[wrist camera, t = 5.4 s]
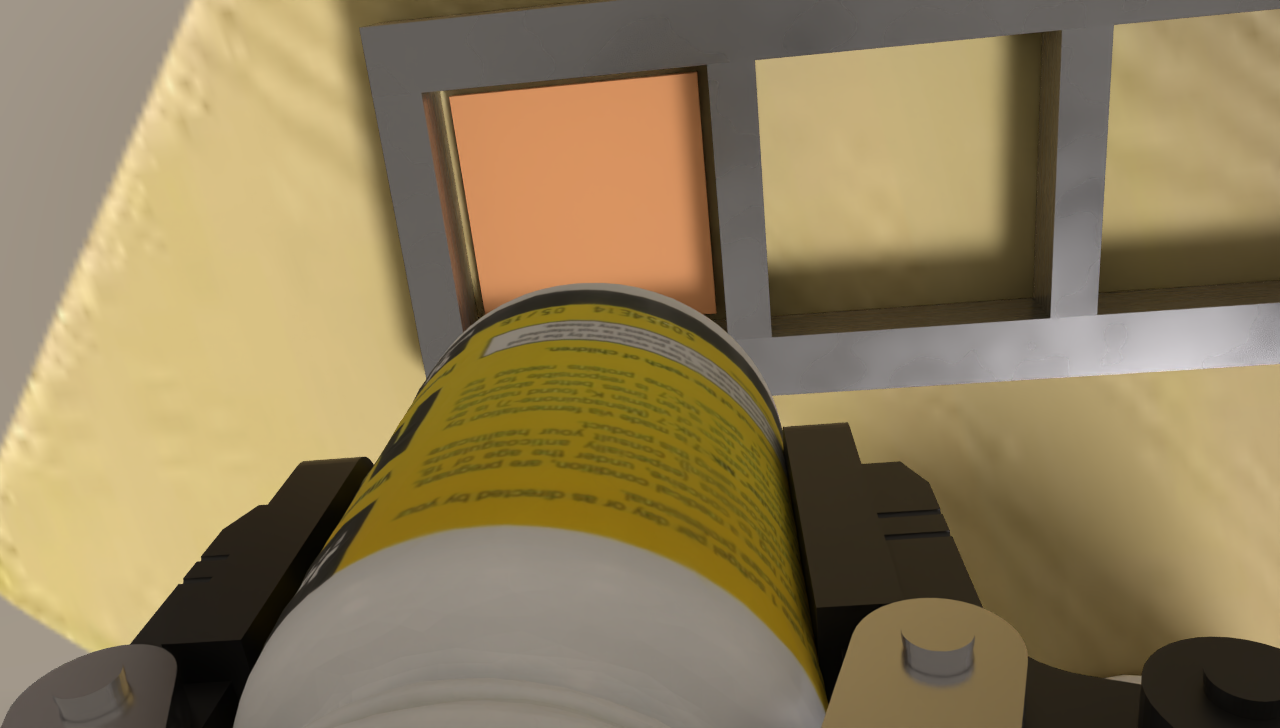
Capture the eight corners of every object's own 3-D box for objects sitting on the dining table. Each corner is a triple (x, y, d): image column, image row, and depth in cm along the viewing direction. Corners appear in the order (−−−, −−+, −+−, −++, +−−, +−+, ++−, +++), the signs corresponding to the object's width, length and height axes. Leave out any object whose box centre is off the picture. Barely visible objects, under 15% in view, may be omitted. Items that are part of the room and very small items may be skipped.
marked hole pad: (696, 71, 26) (696, 72, 26) (716, 309, 28) (715, 313, 28) (451, 94, 27) (448, 96, 26) (490, 325, 29) (487, 329, 29)
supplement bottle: (423, 252, 13) (-3, 731, 5) (810, 296, 13) (992, 848, 5) (414, 586, 15) (91, 1325, 7) (754, 625, 15) (824, 1414, 7)
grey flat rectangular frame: (1470, -93, 23) (1520, -96, 22) (1399, 331, 27) (1438, 353, 25) (380, 22, 26) (358, 27, 25) (448, 393, 30) (433, 417, 28)
